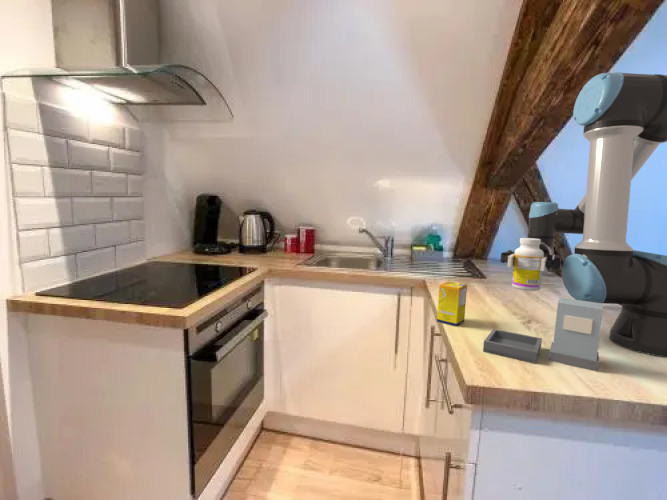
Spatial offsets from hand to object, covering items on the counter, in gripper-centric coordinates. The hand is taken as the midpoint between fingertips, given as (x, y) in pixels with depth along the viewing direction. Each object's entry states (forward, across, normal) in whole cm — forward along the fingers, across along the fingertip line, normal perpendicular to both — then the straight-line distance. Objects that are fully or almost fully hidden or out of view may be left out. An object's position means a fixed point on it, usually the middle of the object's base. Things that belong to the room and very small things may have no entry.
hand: (525, 263), depth 94 cm
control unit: (+6, +12, +20) cm, 24 cm away
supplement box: (-4, -18, +20) cm, 27 cm away
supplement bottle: (-5, 0, +7) cm, 9 cm away
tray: (+8, 0, +20) cm, 21 cm away
